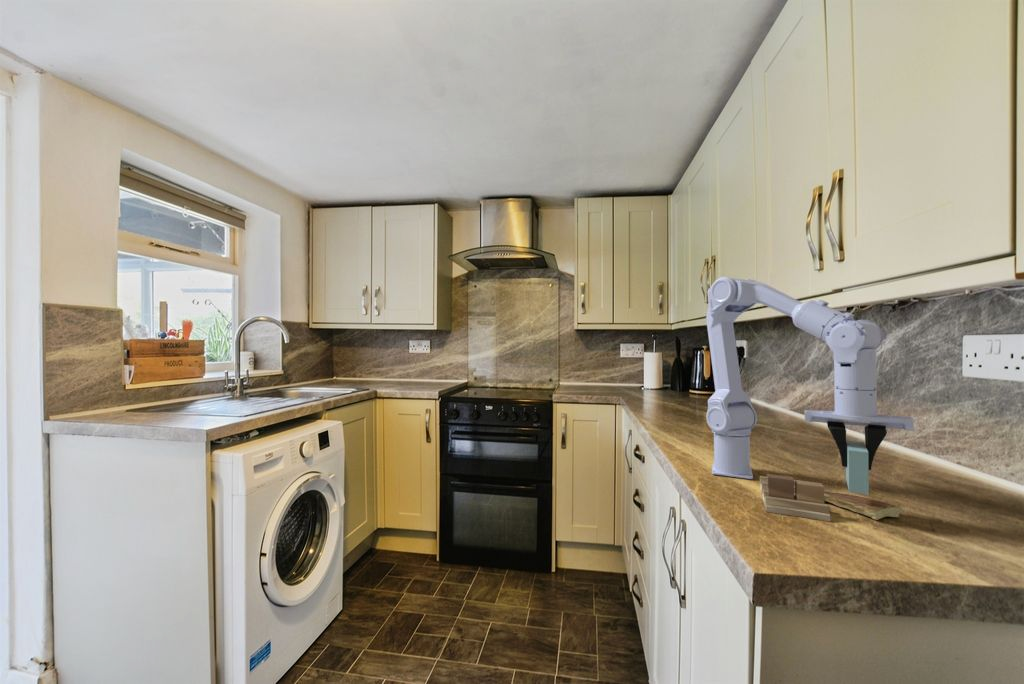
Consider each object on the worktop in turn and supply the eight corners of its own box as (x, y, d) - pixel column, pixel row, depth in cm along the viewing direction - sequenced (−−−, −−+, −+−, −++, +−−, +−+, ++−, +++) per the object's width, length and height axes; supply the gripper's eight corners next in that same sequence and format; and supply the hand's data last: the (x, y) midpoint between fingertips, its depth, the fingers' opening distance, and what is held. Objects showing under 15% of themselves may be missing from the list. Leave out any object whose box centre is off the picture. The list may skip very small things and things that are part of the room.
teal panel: (849, 491, 69) (848, 450, 69) (845, 478, 75) (845, 440, 75) (868, 494, 68) (868, 452, 68) (864, 481, 73) (863, 442, 73)
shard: (810, 497, 78) (810, 487, 78) (840, 494, 80) (840, 485, 80) (874, 520, 68) (874, 509, 68) (907, 517, 70) (907, 506, 70)
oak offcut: (795, 502, 73) (794, 480, 73) (821, 506, 71) (821, 483, 71) (796, 506, 71) (796, 483, 71) (824, 510, 70) (823, 486, 70)
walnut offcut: (767, 498, 75) (767, 474, 75) (792, 502, 73) (792, 477, 73) (768, 502, 73) (768, 477, 73) (794, 506, 72) (793, 480, 72)
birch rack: (759, 485, 85) (759, 475, 85) (813, 492, 81) (813, 481, 81) (766, 511, 72) (766, 499, 72) (830, 521, 68) (830, 508, 68)
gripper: (907, 389, 71) (908, 468, 71) (804, 385, 80) (805, 455, 80) (915, 393, 66) (917, 479, 65) (804, 388, 74) (805, 464, 74)
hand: (856, 467), depth 72 cm, fingers closed on teal panel, 2 cm apart
